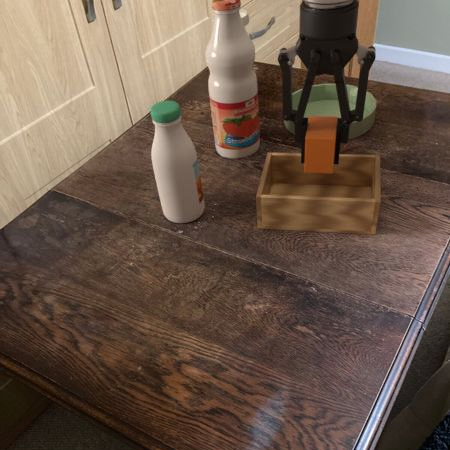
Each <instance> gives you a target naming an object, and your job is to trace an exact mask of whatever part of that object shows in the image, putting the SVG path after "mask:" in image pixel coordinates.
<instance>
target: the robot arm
mask: <svg viewBox="0 0 450 450" xmlns="http://www.w3.org/2000/svg"><path fill="white" fill-rule="evenodd" d="M359 5H360V2H359V0H302V1H301V3H300V5H299V28H298V29H299V32H298V35H299V36H298V39H297V40H296V43H295V45H294V46H291V47H289V48H287V47H281V48H280V50H279V53H278V54H277V55H278V56H277V62H278V65H279V68H280V70H281V93H282V94H281V95H282V99H281V100H282V120H283V121H284V120H285V121H292V122H293V123H294V125H295V135H294V142H295V143H299V144H301V146H300V148H301V149H300V153H301V163H304V164H305V138H306V132H307V127H308V118H304V114H305V111H306V107H307V103H308V100H309V96H310V93H311V89H312V85H314V82H315V79H316V76H322V75H328V76H333V80H334V83H335V84H336V90H337V96H338V102H339V108H340V114H341V118H338V119H337V130H336V143H335V155H334V164H339V154H341V153H340V151H341V144H347V143H348V142H349V140H348V138H349V128H350V124H351V123H352V122H355V121H357V122H360V121H362V120H363V114H364V107H365V99H366V91H368V83H369V75H370V70H371V69H372V66H373V64H374V62H375V60H376V57H377V56H376V53H377V52H376V47H375V46H373V45H371V46H368V47H367V46H364V45H362V44H359V39H358V38H357V25H358V18H359V17H358V16H359ZM355 55H356V56H357V64H358V65H359V74H358V80H357V81H358V83H357V87H358V89H357V98H356V106H355V109H354V110H351V111H350V106H349V99H348V93H347V86H346V85H347V82H346V80H347V79H346V73H345V68H346V67H347V65H348V64H349V63H350V62H351V60H352V59H353V57H354V56H355ZM297 56H298V58H299V59H300V61H301V62H302V64H303V65H304V67H305V68H306V74H305V78H304V81H303V82H304V83H303V86H302V88H303V89H302V88H301V89H302V93H301V97H300V100H299V104H298V108H297V110H294V109H292V93H293V65H294V64H295V61H296V57H297Z"/></svg>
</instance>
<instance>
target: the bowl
mask: <svg viewBox="0 0 450 450" xmlns="http://www.w3.org/2000/svg"><path fill="white" fill-rule="evenodd" d="M346 86H347V93H348V99H349V106H350V111H351V110H354V109H355V106H356V98H357V89H358V86H356V85H352V84H346ZM302 89H303V87H302V88H300V89H298V90H296V91H294V92H292V109H294V110H297V108H298V104H299V100H300V97H301V93H302ZM376 112H377V99H376V98H375V97H374V95H373V93H371V92H370V91H368V90H367V91H366V99H365V107H364V114H363V120H362V121H360V122H357V121H355V122H352V123H351V124H350V128H349V138H348V141H350V140H352V139H356V138H358V137H360V136H362V135H364V134H366V133H367V132H368V131H370V129H371V128H372V127H373V126H374V124H375V120H376ZM309 116H337V117H338V118H341V114H340V108H339V102H338V96H337V90H336V84H335V82H333V83H330V82H329V83H319V84H313V85H312V89H311V93H310V96H309V100H308V103H307V107H306V111H305V114H304V118H308V121H309ZM283 124H284V127H285V128H286V130H287V131H289V133H291V134H292V135H294V136H295V125H294V123H293V122H292V121H285V120H284V119H283Z"/></svg>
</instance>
